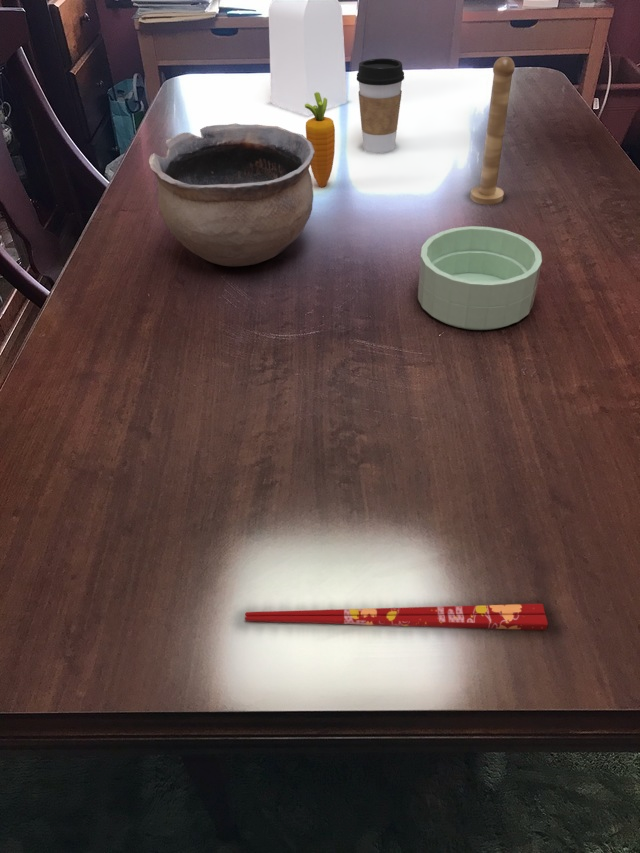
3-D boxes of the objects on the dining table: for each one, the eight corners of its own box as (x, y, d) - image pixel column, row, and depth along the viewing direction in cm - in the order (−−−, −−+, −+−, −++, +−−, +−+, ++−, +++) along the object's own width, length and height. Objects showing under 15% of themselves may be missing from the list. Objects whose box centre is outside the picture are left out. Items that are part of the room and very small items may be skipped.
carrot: (331, 195, 115) (329, 100, 105) (303, 192, 116) (298, 98, 106) (340, 183, 119) (338, 90, 108) (313, 180, 120) (309, 88, 110)
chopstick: (246, 612, 56) (244, 605, 56) (541, 609, 56) (543, 602, 55) (243, 633, 55) (242, 627, 54) (546, 631, 54) (548, 624, 54)
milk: (271, 105, 150) (260, -37, 133) (310, 92, 156) (304, -46, 138) (308, 117, 143) (301, -30, 126) (347, 103, 149) (346, -40, 131)
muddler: (489, 189, 114) (508, 49, 100) (509, 201, 111) (531, 58, 97) (463, 197, 113) (479, 55, 99) (483, 208, 109) (501, 64, 95)
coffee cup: (347, 152, 129) (347, 64, 119) (371, 137, 134) (372, 52, 124) (386, 160, 125) (389, 71, 115) (409, 145, 130) (413, 58, 120)
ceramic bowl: (222, 208, 113) (208, 113, 103) (342, 231, 105) (340, 131, 95) (139, 272, 98) (114, 168, 88) (272, 304, 91) (261, 195, 81)
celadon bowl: (485, 263, 97) (492, 216, 92) (556, 313, 87) (567, 264, 82) (396, 291, 92) (399, 243, 88) (460, 347, 83) (466, 296, 78)
